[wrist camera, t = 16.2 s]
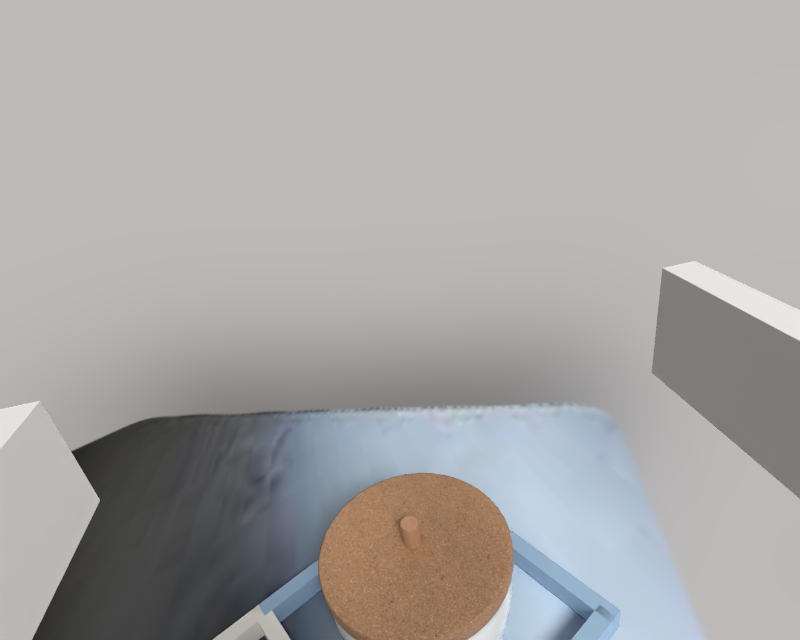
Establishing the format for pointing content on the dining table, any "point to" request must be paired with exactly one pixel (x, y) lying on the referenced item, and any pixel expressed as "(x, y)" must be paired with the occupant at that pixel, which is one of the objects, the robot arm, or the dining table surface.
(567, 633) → the dining table surface
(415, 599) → the lidded jar
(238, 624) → the white square frame
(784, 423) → the robot arm
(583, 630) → the blue bezel
